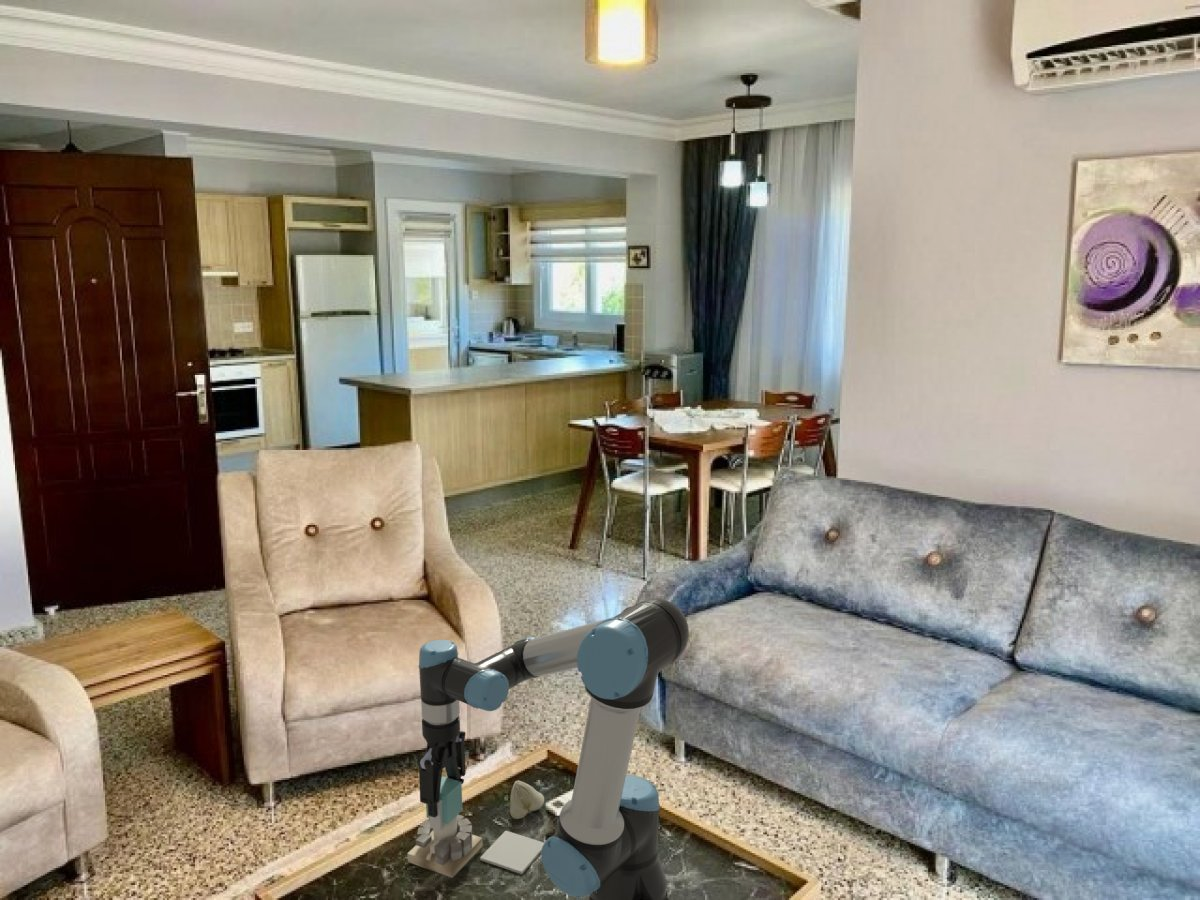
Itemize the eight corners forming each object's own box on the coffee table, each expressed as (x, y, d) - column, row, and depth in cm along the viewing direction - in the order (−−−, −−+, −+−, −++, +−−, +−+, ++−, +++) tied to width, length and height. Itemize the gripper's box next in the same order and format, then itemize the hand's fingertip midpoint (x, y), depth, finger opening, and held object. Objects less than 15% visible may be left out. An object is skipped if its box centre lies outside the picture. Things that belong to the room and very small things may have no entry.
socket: (482, 846, 192) (481, 822, 191) (452, 877, 183) (451, 852, 181) (439, 832, 197) (438, 808, 196) (407, 861, 187) (406, 837, 186)
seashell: (509, 819, 198) (497, 786, 203) (519, 831, 204) (507, 799, 209) (543, 801, 199) (531, 769, 204) (552, 815, 205) (539, 783, 210)
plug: (442, 831, 192) (440, 775, 190) (463, 838, 190) (461, 781, 187) (422, 850, 186) (420, 793, 184) (443, 857, 184) (441, 799, 181)
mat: (546, 845, 192) (546, 843, 192) (522, 874, 184) (522, 871, 184) (505, 832, 197) (505, 830, 197) (480, 860, 188) (480, 857, 188)
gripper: (451, 693, 193) (455, 792, 198) (396, 733, 177) (402, 840, 182) (481, 700, 190) (484, 801, 194) (428, 742, 173) (433, 850, 178)
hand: (444, 819), depth 188 cm, fingers closed on plug, 5 cm apart
